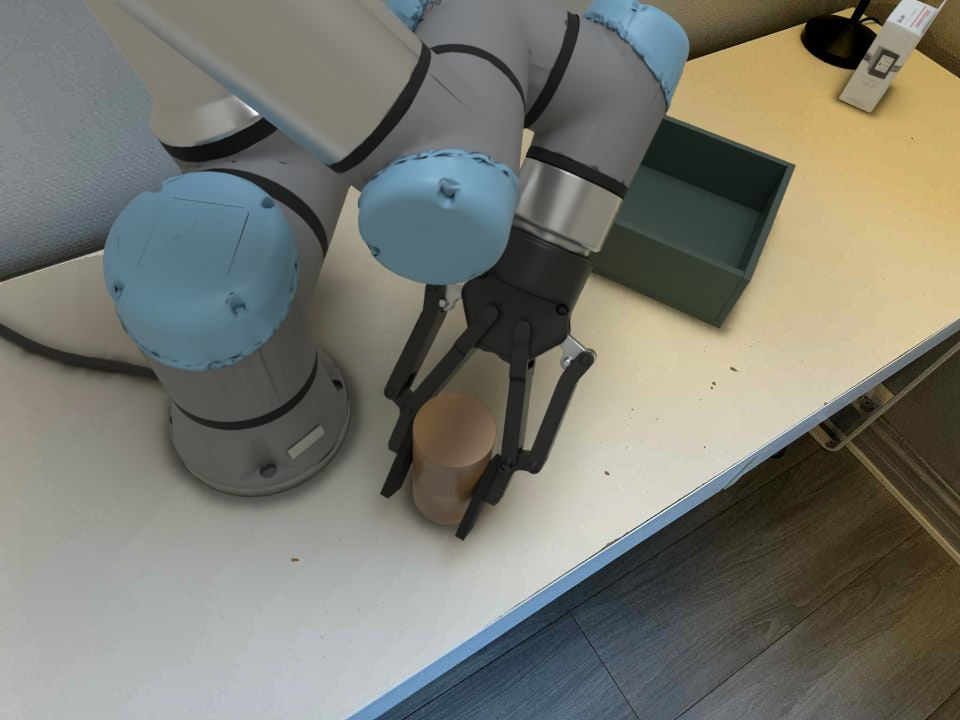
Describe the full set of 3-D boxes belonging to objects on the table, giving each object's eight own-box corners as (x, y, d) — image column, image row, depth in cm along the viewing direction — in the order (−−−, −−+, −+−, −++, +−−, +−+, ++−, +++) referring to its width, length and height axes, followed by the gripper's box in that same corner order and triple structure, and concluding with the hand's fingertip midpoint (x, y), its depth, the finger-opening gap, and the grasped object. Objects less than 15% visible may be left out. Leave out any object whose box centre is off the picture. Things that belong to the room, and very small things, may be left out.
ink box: (856, 73, 99) (919, -30, 86) (888, 87, 97) (957, -15, 85) (836, 99, 94) (900, -5, 82) (869, 114, 93) (939, 11, 81)
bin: (520, 239, 74) (530, 186, 68) (587, 143, 85) (601, 89, 78) (719, 328, 70) (751, 280, 63) (765, 215, 80) (796, 164, 73)
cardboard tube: (399, 504, 56) (396, 442, 46) (434, 448, 59) (439, 379, 49) (461, 538, 55) (471, 482, 45) (493, 480, 58) (510, 415, 48)
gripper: (673, 291, 49) (543, 551, 54) (448, 192, 52) (347, 444, 58) (674, 294, 42) (524, 593, 47) (414, 179, 45) (302, 468, 50)
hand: (427, 510), depth 52 cm, fingers closed on cardboard tube, 6 cm apart
